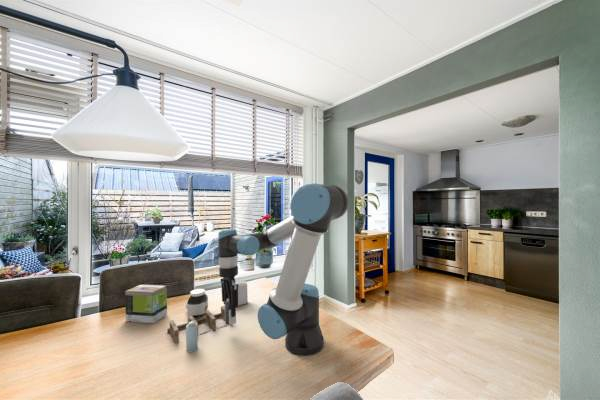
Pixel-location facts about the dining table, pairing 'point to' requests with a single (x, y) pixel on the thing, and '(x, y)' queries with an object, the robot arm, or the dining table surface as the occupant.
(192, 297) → the spread jar
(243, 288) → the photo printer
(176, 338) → the comb rack
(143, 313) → the tea box
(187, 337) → the light blue bottle
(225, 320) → the charcoal plug
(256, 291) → the dining table surface
